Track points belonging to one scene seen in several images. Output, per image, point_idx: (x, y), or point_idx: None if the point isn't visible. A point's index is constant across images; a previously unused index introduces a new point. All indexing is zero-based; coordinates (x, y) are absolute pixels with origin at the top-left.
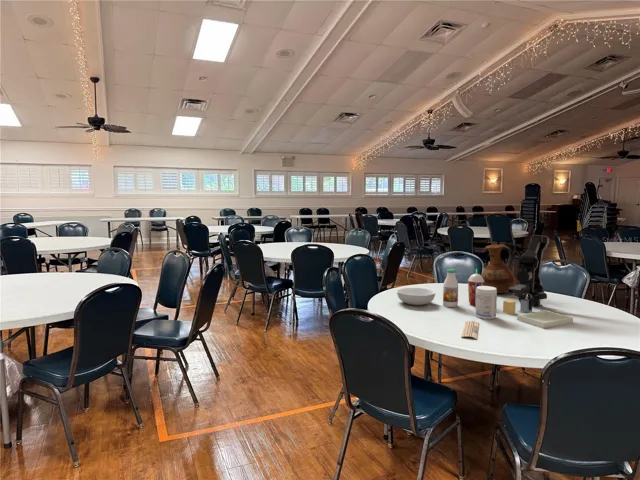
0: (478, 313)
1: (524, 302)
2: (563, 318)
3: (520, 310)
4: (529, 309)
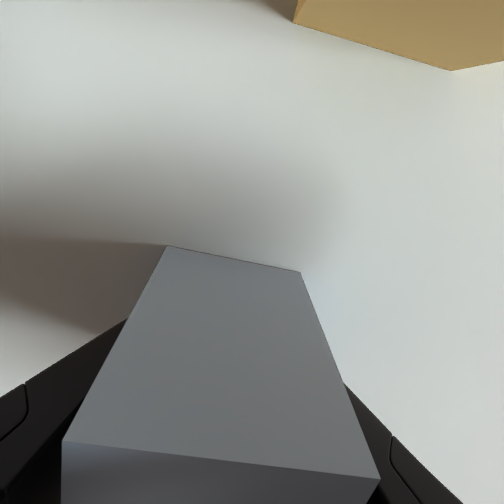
0: None
1: (209, 393)
2: None
3: (294, 274)
4: None
